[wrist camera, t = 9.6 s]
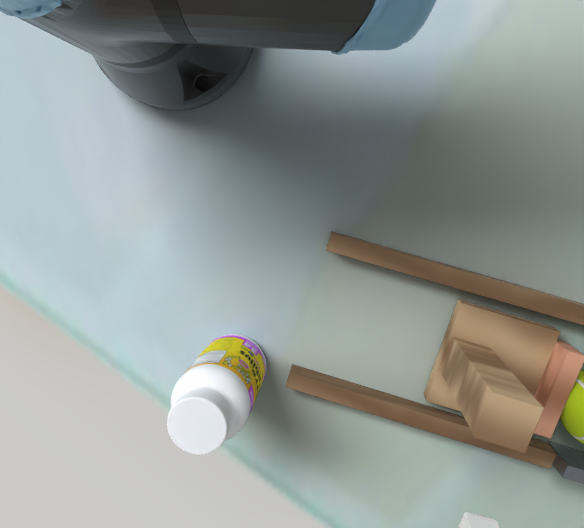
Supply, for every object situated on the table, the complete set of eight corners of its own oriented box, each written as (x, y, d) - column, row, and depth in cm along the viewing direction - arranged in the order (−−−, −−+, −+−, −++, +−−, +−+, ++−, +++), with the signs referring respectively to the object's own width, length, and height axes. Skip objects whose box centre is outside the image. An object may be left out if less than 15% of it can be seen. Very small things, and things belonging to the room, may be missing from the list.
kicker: (457, 299, 43) (506, 347, 30) (569, 331, 43) (665, 394, 30) (423, 393, 45) (455, 476, 32) (529, 426, 44) (604, 523, 32)
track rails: (331, 231, 44) (331, 233, 42) (604, 310, 42) (617, 316, 40) (288, 378, 47) (285, 386, 45) (541, 456, 45) (550, 469, 43)
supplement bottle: (275, 386, 47) (250, 460, 34) (214, 398, 48) (168, 475, 35) (258, 324, 46) (226, 378, 33) (196, 338, 47) (142, 395, 34)
